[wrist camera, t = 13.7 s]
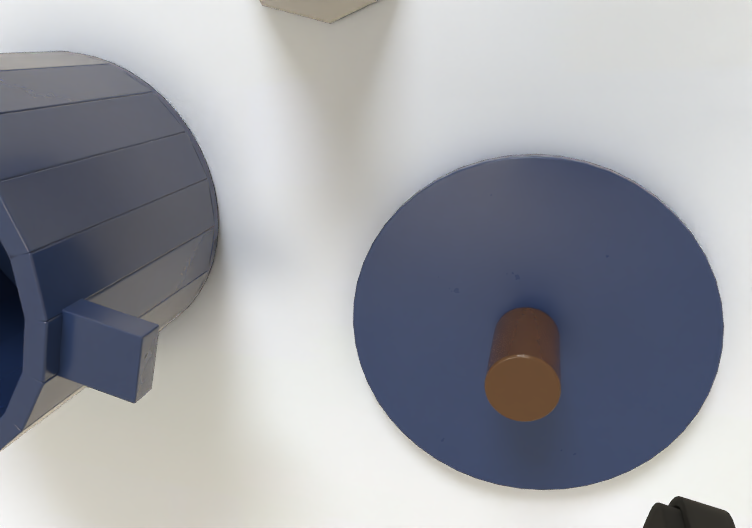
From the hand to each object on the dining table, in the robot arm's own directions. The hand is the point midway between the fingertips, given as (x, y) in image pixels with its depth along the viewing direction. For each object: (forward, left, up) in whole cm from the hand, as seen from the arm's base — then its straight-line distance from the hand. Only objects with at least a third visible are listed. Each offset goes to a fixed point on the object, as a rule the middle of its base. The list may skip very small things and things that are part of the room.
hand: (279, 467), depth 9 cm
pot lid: (+5, +4, -19) cm, 21 cm away
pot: (+6, -17, -20) cm, 27 cm away
